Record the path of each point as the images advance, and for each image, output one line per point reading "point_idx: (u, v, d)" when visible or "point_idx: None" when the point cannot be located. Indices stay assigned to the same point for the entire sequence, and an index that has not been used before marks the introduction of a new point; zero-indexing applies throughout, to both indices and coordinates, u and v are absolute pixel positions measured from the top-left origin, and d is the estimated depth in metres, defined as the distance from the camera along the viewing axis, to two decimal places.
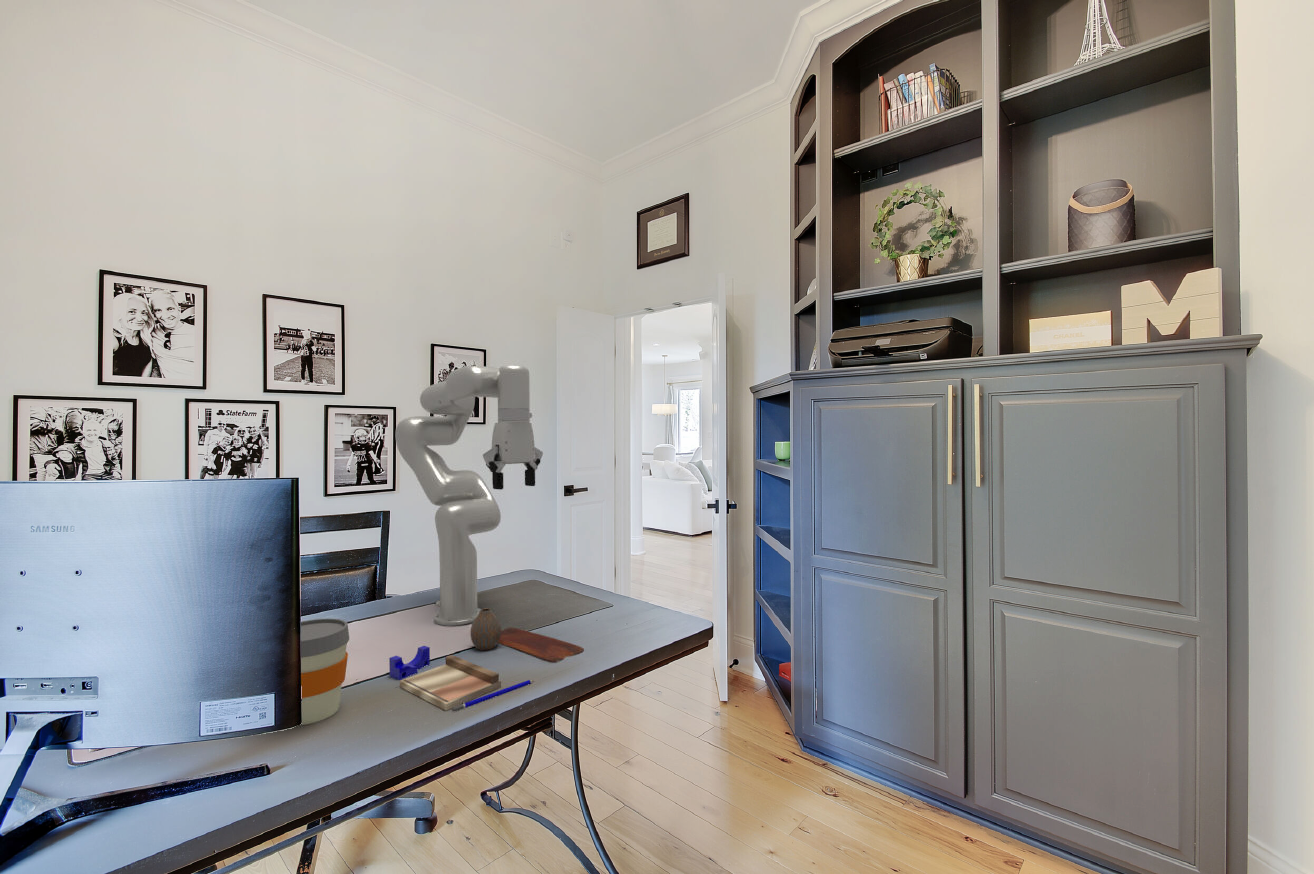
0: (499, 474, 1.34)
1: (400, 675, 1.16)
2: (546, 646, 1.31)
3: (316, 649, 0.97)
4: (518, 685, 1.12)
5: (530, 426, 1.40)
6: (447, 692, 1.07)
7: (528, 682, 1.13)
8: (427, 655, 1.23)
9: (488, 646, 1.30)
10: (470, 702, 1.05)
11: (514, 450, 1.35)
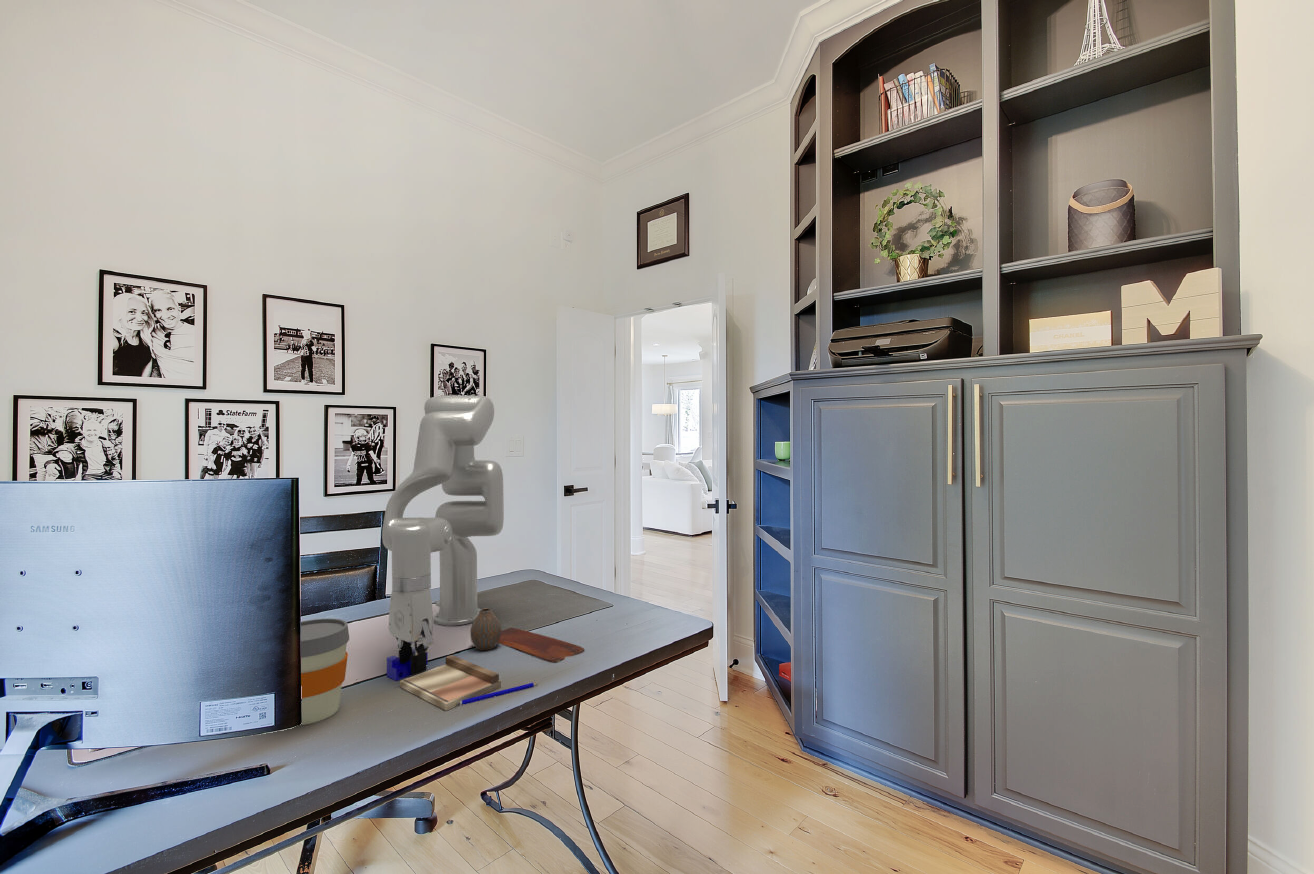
0: None
1: (397, 675, 1.15)
2: (547, 646, 1.31)
3: (316, 649, 0.97)
4: (520, 687, 1.11)
5: None
6: (447, 692, 1.07)
7: (531, 685, 1.12)
8: None
9: (488, 646, 1.30)
10: (467, 700, 1.05)
11: None
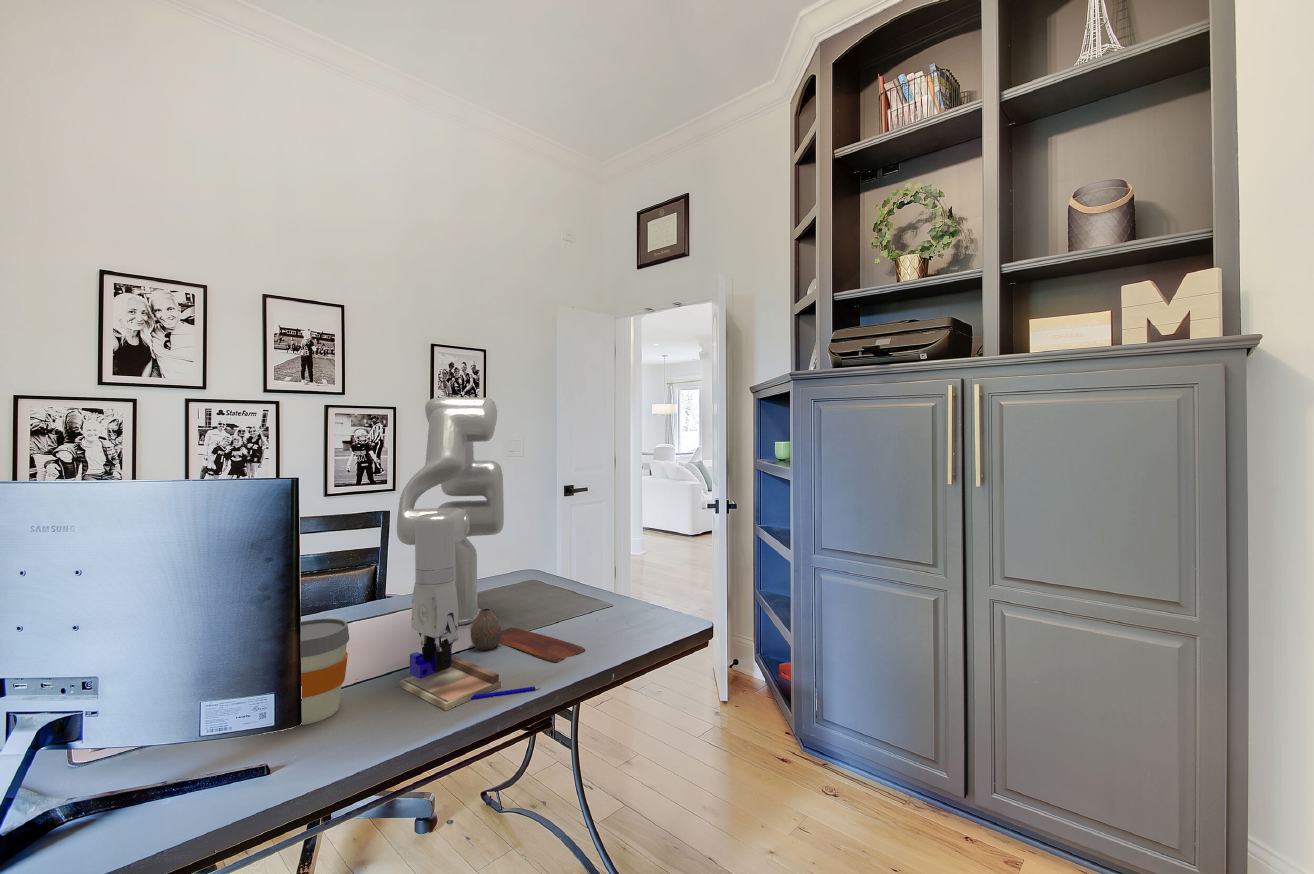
0: None
1: (421, 672, 1.09)
2: (548, 646, 1.31)
3: (316, 649, 0.97)
4: (521, 689, 1.10)
5: None
6: (447, 692, 1.07)
7: (532, 688, 1.10)
8: None
9: (488, 646, 1.30)
10: None
11: None
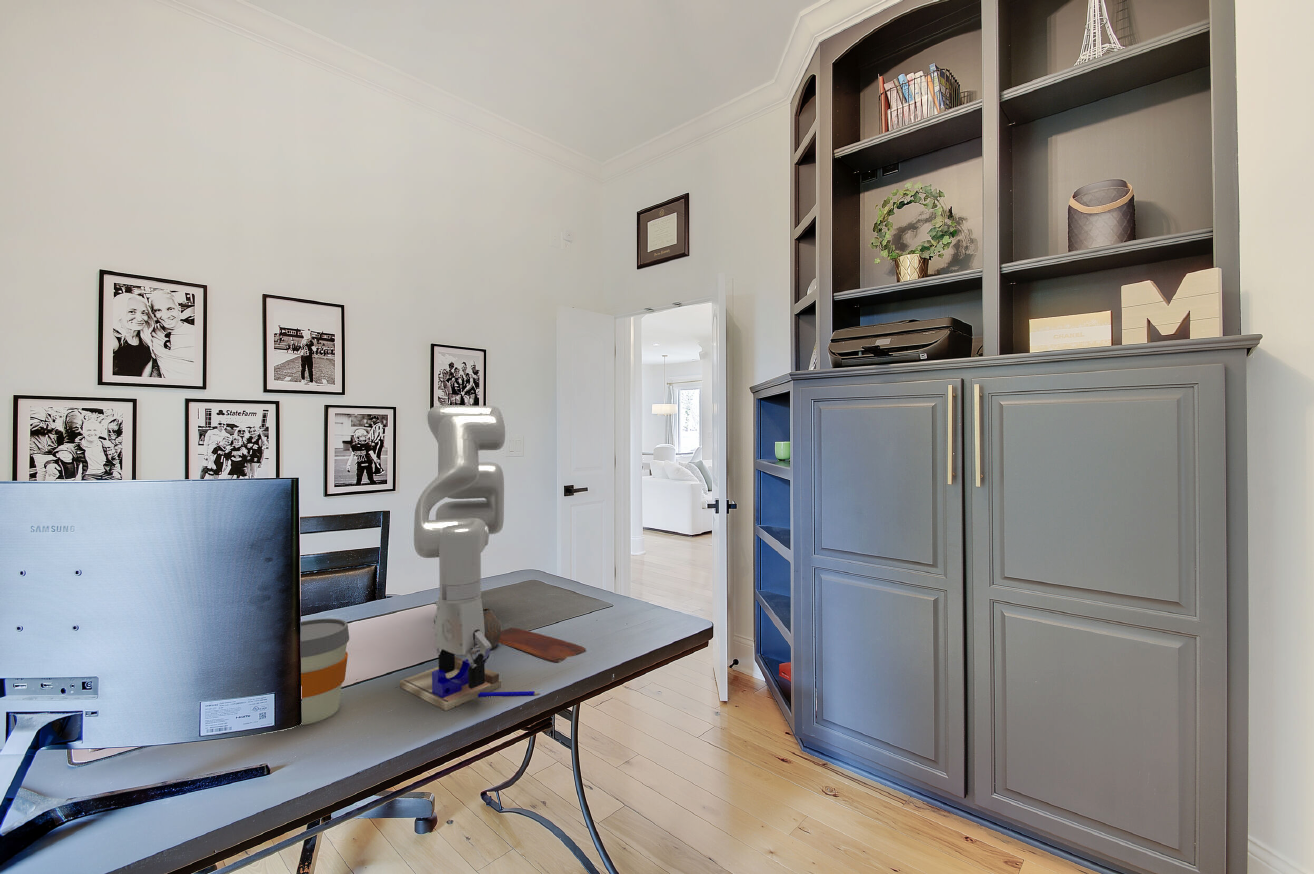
0: None
1: (443, 691, 1.05)
2: (548, 646, 1.31)
3: (316, 649, 0.97)
4: (520, 693, 1.08)
5: None
6: None
7: (531, 693, 1.08)
8: None
9: None
10: None
11: None
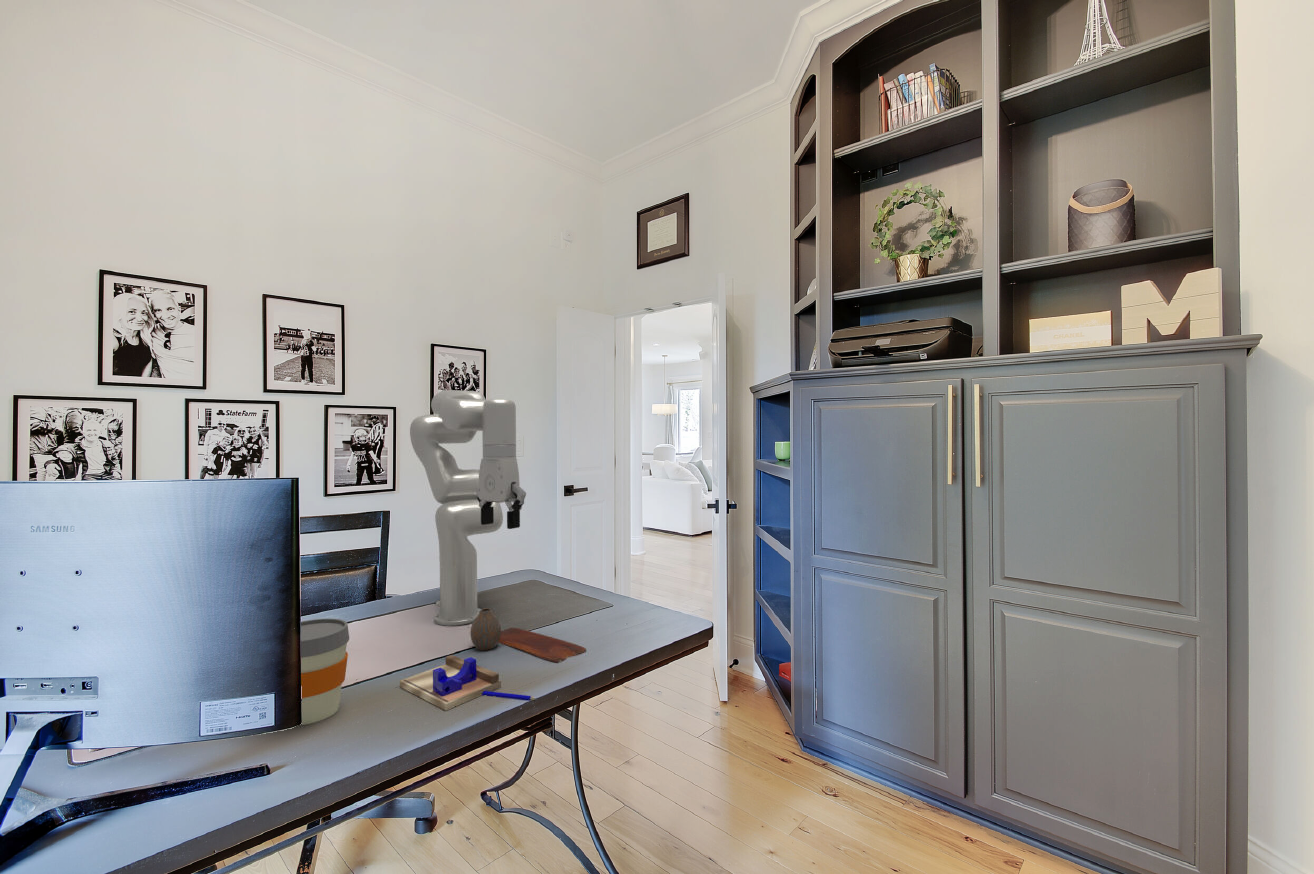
0: None
1: (443, 690, 1.06)
2: (549, 646, 1.31)
3: (316, 649, 0.97)
4: (517, 696, 1.07)
5: None
6: None
7: (528, 698, 1.07)
8: (473, 668, 1.12)
9: (488, 646, 1.30)
10: None
11: None
